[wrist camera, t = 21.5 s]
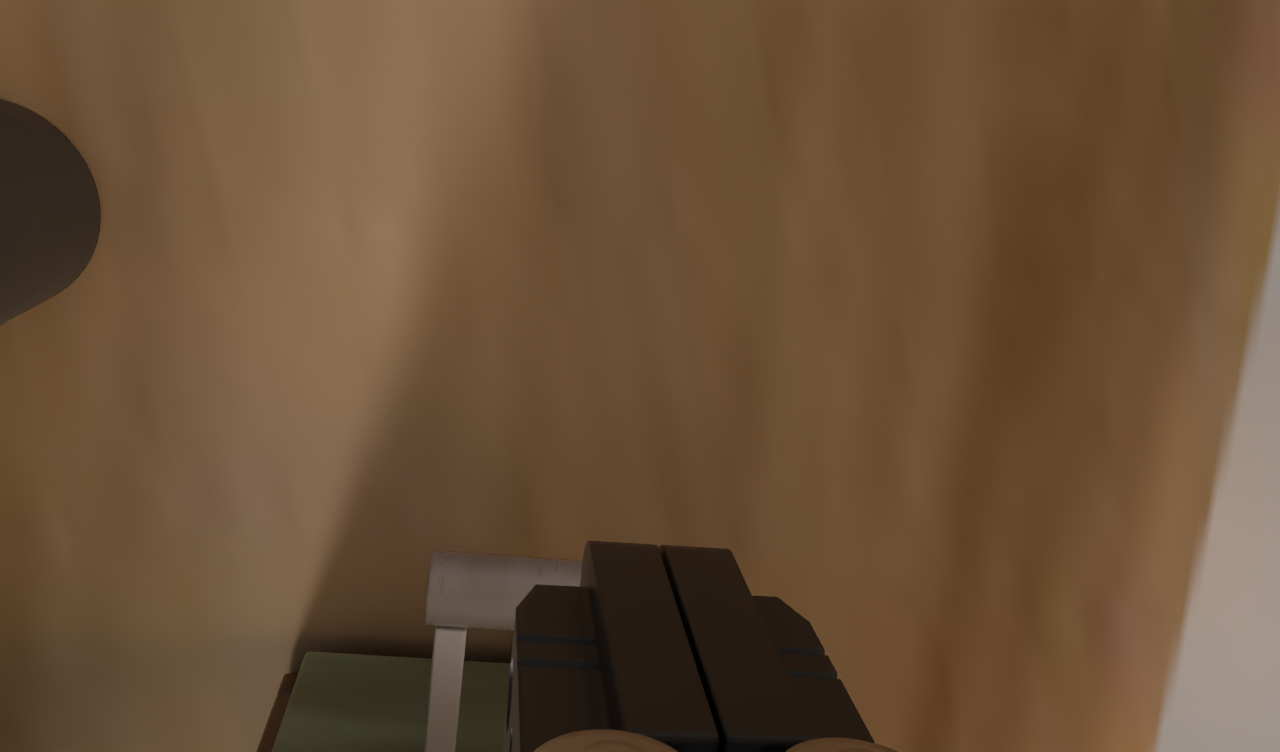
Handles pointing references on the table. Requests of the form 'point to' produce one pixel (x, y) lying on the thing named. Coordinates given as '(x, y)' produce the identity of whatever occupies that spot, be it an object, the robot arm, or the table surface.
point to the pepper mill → (41, 211)
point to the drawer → (423, 669)
